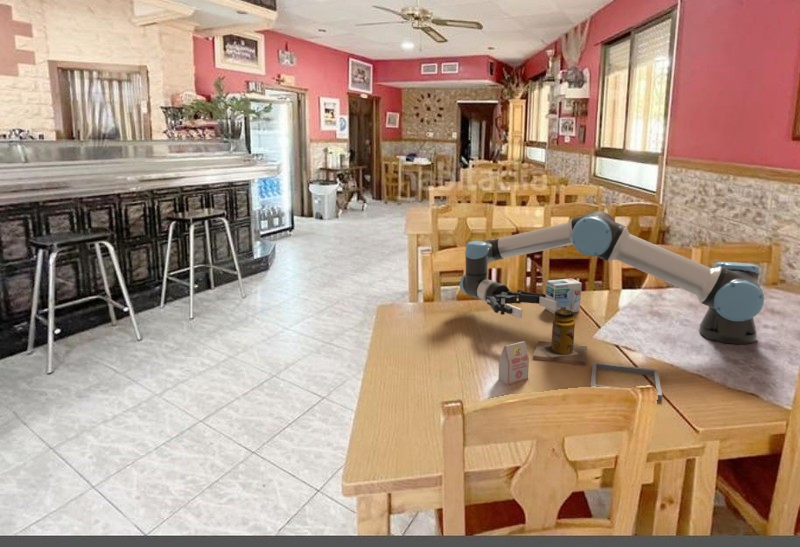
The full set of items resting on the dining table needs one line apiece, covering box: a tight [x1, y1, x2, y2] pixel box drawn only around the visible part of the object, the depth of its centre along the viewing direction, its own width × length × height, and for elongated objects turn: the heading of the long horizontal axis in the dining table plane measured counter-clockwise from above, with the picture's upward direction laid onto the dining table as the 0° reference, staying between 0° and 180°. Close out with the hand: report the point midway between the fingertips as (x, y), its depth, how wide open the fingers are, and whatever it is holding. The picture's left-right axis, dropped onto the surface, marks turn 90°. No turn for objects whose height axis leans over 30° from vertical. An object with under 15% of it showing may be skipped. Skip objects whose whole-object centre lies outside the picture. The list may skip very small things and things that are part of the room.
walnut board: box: [532, 340, 588, 366], centre depth 156 cm, size 14×12×1 cm
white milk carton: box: [498, 340, 530, 386], centre depth 139 cm, size 4×7×10 cm, turn 118°
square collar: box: [590, 361, 663, 402], centre depth 137 cm, size 16×15×2 cm
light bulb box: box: [544, 278, 583, 315], centre depth 192 cm, size 11×7×11 cm, turn 104°
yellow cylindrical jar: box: [540, 309, 578, 357], centre depth 154 cm, size 7×8×12 cm
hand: (538, 309), depth 161 cm, fingers open, 13 cm apart
